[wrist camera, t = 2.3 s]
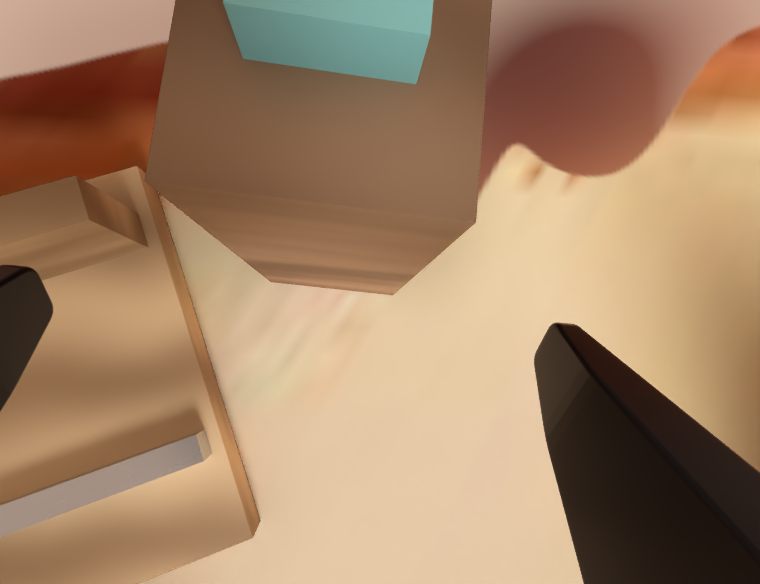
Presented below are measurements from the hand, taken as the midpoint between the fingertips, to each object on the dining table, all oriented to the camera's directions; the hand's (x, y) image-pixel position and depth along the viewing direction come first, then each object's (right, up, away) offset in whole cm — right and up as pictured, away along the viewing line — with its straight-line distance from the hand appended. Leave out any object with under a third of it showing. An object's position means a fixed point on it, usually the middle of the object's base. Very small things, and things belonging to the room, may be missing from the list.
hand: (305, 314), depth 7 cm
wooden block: (-1, +3, +12) cm, 12 cm away
